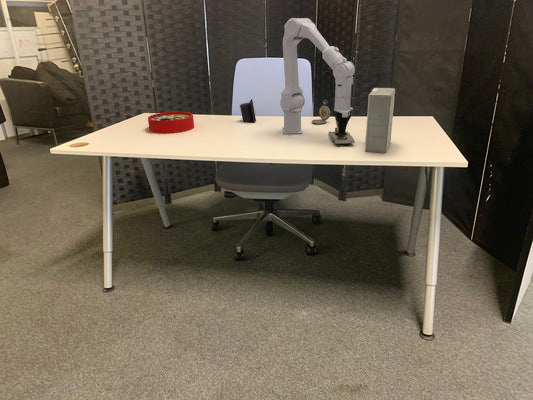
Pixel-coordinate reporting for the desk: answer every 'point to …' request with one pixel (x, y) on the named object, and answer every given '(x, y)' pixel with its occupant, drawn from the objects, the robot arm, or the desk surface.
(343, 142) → the square cutout plate
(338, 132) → the brass pin
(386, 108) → the hard drive box
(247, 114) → the speaker
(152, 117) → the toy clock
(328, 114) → the pocket watch
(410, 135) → the desk surface
